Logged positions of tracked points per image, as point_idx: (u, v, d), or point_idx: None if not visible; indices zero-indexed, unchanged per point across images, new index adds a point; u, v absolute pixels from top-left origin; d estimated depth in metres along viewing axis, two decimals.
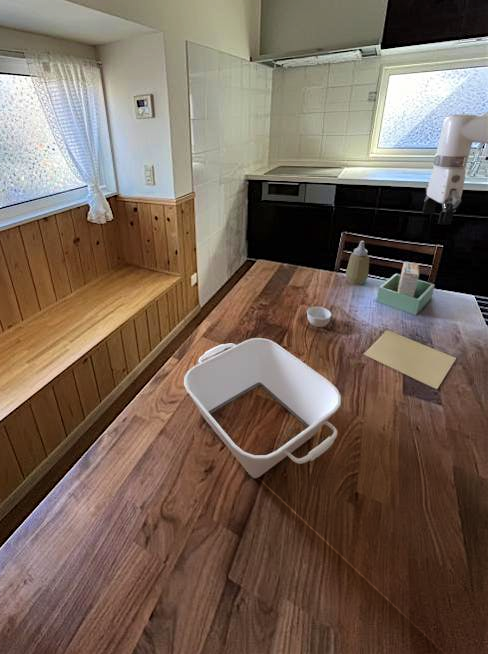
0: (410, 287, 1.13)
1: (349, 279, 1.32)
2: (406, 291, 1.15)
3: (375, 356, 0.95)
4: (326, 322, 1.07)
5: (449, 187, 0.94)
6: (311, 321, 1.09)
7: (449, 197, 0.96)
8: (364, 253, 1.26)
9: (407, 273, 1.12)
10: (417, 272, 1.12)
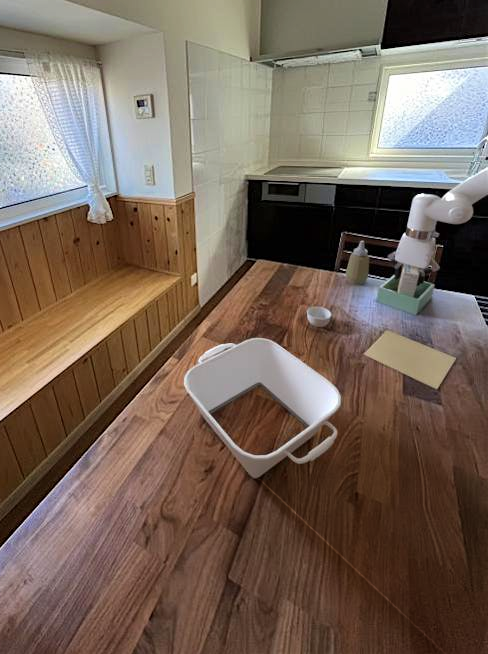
0: (410, 287, 1.13)
1: (349, 279, 1.32)
2: (406, 291, 1.15)
3: (375, 356, 0.95)
4: (326, 322, 1.07)
5: (431, 255, 1.08)
6: (311, 321, 1.09)
7: None
8: (364, 253, 1.26)
9: (407, 273, 1.12)
10: (417, 272, 1.12)
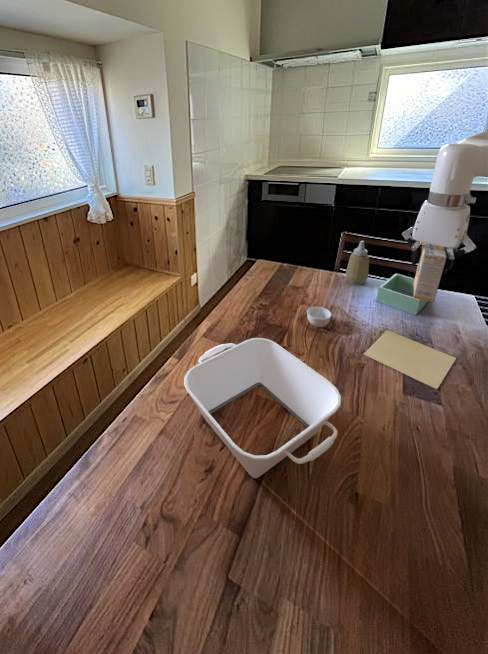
0: (433, 275, 0.83)
1: (349, 279, 1.32)
2: (428, 281, 0.84)
3: (375, 356, 0.95)
4: (326, 322, 1.07)
5: (464, 229, 0.78)
6: (311, 321, 1.09)
7: None
8: (364, 253, 1.26)
9: (429, 255, 0.82)
10: (443, 254, 0.82)
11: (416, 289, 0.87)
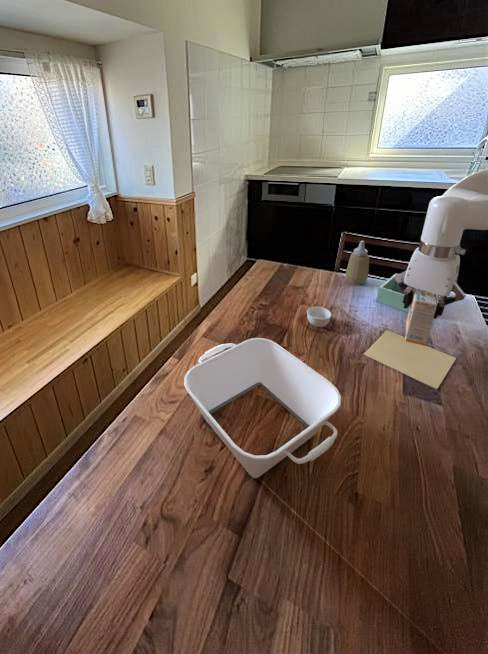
0: (425, 321, 0.85)
1: (349, 279, 1.32)
2: (419, 326, 0.86)
3: (375, 356, 0.95)
4: (326, 322, 1.07)
5: (454, 279, 0.79)
6: (311, 321, 1.09)
7: None
8: (364, 253, 1.26)
9: (421, 302, 0.83)
10: (434, 301, 0.83)
11: (408, 333, 0.88)
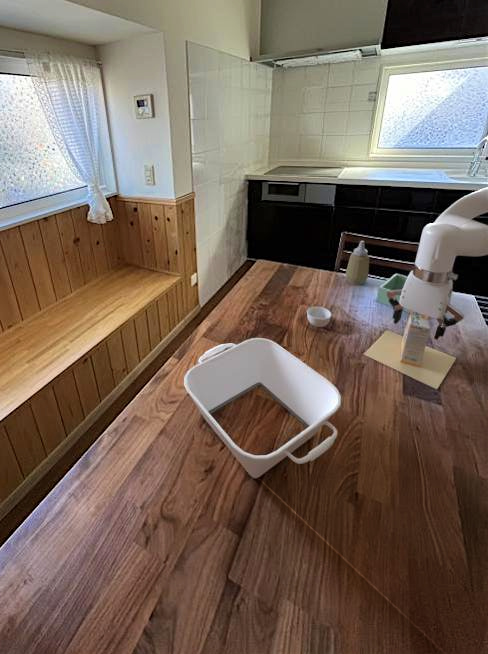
0: (419, 343, 0.88)
1: (349, 279, 1.32)
2: (414, 348, 0.89)
3: (375, 356, 0.95)
4: (326, 322, 1.07)
5: (447, 303, 0.82)
6: (311, 321, 1.09)
7: None
8: (364, 253, 1.26)
9: (415, 325, 0.86)
10: (428, 324, 0.86)
11: (403, 354, 0.91)
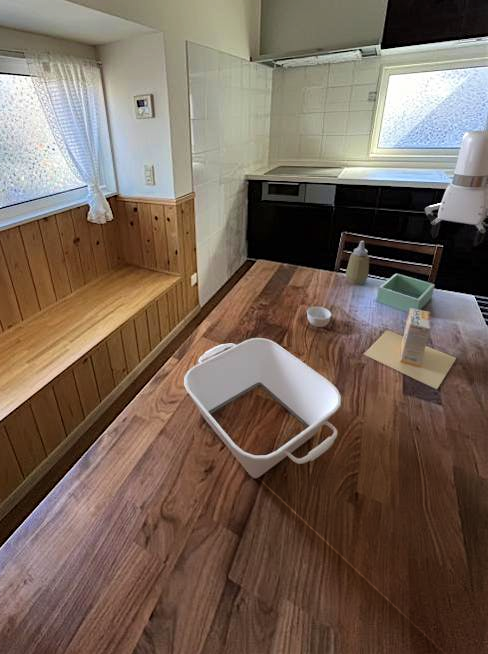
0: (419, 343, 0.88)
1: (349, 279, 1.32)
2: (414, 348, 0.89)
3: (375, 356, 0.95)
4: (326, 322, 1.07)
5: (486, 207, 0.87)
6: (311, 321, 1.09)
7: None
8: (364, 253, 1.26)
9: (415, 325, 0.86)
10: (428, 324, 0.86)
11: (403, 354, 0.91)
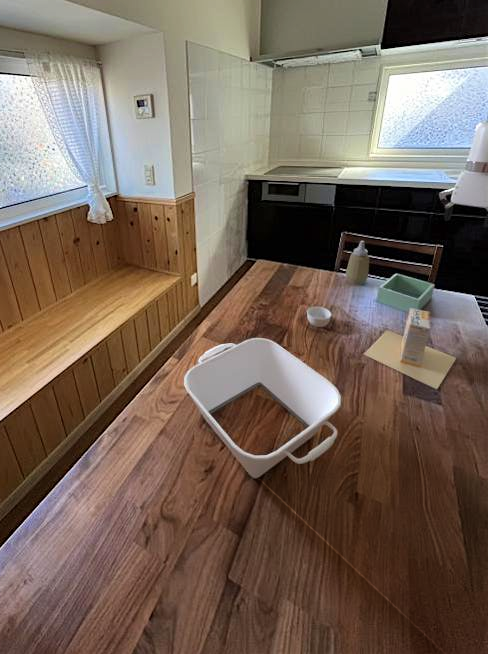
0: (419, 343, 0.88)
1: (349, 279, 1.32)
2: (414, 348, 0.89)
3: (375, 356, 0.95)
4: (326, 322, 1.07)
5: None
6: (311, 321, 1.09)
7: None
8: (364, 253, 1.26)
9: (415, 325, 0.86)
10: (428, 324, 0.86)
11: (403, 354, 0.91)
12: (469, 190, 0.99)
